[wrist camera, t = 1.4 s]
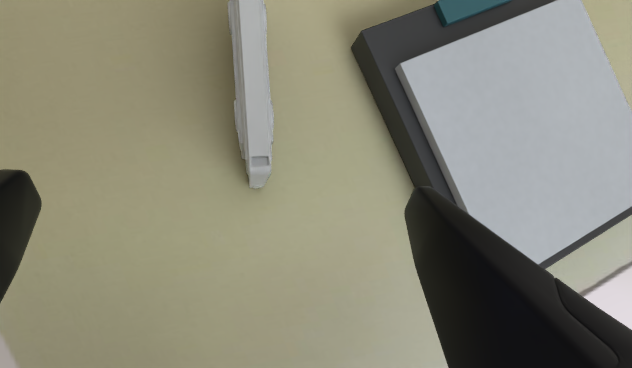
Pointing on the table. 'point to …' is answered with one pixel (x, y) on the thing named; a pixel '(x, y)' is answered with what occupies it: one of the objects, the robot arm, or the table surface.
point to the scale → (507, 116)
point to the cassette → (252, 87)
